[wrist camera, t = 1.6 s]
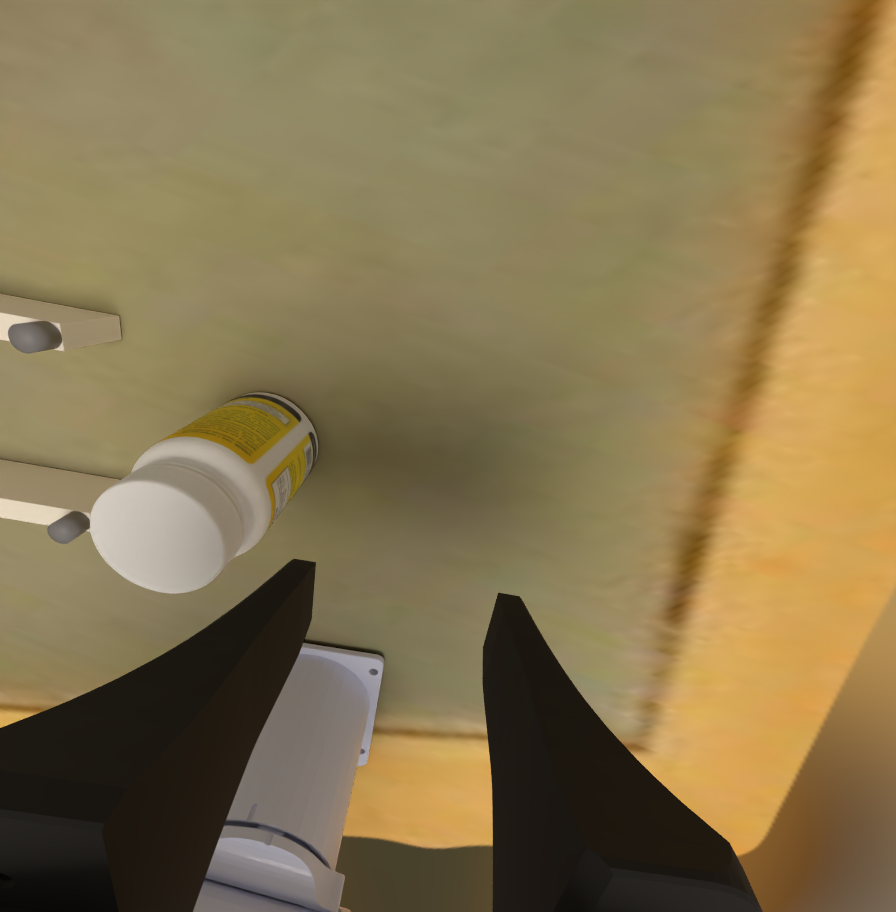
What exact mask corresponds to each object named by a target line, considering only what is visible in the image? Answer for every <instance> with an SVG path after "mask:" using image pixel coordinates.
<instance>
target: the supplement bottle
mask: <svg viewBox="0 0 896 912" xmlns="http://www.w3.org/2000/svg"><path fill="white" fill-rule="evenodd" d="M317 455H318V440H317V436H316V433H315V430H314V428H313V426H312V424H311V422H310V421H309V419H308V418H307V417H306V415H305V414H304V413H303V412H302V411H301V410H300V409H299V408H298V407H297V406H296V405H294V404H293V403H292V402H290V401H288V400H287V399H285V398H283V397H280V396H278V395H274V394H270V393H262V392H256V393H249V394H245V395H241V396H239V397H237V398H235V399H232V400H230V401H229V402H227V403H225V404H224V405H222V406H220V407H219V408H217V409H215V410H213V411H212V412H210V413H208V414H206V415H205V416H203V417H201V418H199V419H198V420H196V421H194V422H193V423H191V424H189V425H187V426H186V427H184V428H182V429H180V430H179V431H177V432H175V433H174V434H172V435H170V436H168V437H166V438H165V439H163V440H161V441H159V442H158V443H156V444H154V445H153V446H151V447H150V448H149V449H148V450H147V451H146V452H145V453H143V454H142V455H141V456H140V458H139V459H138V460H137V462H136V463H135V465H134V467H133V469H132V472H131V473H130V474H129V475H127V476H126V477H124V478H123V479H121V480H120V481H118V482H117V483H115V484H114V485H112V486H111V487H110V488H108V489H107V490H106V491H105V492H103V493H102V494H101V495H100V497H99V498H98V499H97V500H96V502H95V504H94V506H93V508H92V512H91V515H90V532H91V536H92V539H93V541H94V544H95V546H96V548H97V550H98V551H99V553H100V554H101V556H102V557H103V558H104V560H105V561H106V562H107V563H108V564H109V565H110V566H111V567H112V568H113V569H114V570H115V571H116V572H117V573H119V574H120V575H121V576H123V577H124V578H126V579H127V580H129V581H131V582H132V583H134V584H137V585H139V586H141V587H144V588H146V589H150V590H153V591H157V592H163V593H185V592H191V591H194V590H197V589H200V588H202V587H204V586H206V585H207V584H209V583H210V582H211V581H213V580H214V579H215V578H216V577H217V576H218V575H219V574H220V572H221V571H222V570H223V569H224V568H225V566H226V565H227V564H228V563H229V562H230V561H231V560H232V559H233V558H234V557H237V556H239V555H241V554H243V553H245V552H247V551H248V550H250V549H251V548H252V547H253V546H255V545H256V544H257V543H258V542H259V541H260V539H261V538H262V537H263V536H264V535H265V533H266V532H267V531H268V529H269V528H270V526H271V525H272V524H273V522H274V521H275V520H276V518H277V517H278V515H279V514H280V513H281V511H282V510H283V509H284V507H285V506H286V505H287V503H288V502H289V501H290V499H291V498H292V497H293V495H294V494H295V492H296V491H297V490H298V488H299V487H300V486H301V484H302V483H303V482H304V480H305V479H306V477H307V476H308V475H309V473H310V472H311V470H312V469H313V467H314V465H315V462H316V459H317Z"/></svg>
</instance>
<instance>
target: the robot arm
mask: <svg viewBox="0 0 896 912" xmlns="http://www.w3.org/2000/svg"><path fill="white" fill-rule="evenodd" d="M315 567H316V562H310V561H304V560H298V559H293V560H291V561H290V562H289V563H287V564H286V565H285V566H284V567H283V568H282V569H281V570H279V571H278V572H277V573H276V574H275V575H274V576H272V577H271V578H270V579H269V580H268V581H266V582H265V583H264V584H263V585H262V586H260V587H259V588H258V589H257V590H256V591H254V592H253V593H252V594H250V595H249V596H248V597H247V598H245V599H244V600H243V601H242V602H240V603H239V604H238V605H236V606H235V607H234V608H232V609H231V610H230V611H228V612H227V613H226V614H224V615H223V616H221V617H220V618H219V619H217V620H216V621H214V622H213V623H211V624H210V625H209V626H207V627H206V628H204V629H203V630H201V631H200V632H198V633H197V634H195V635H194V636H192V637H191V638H189V639H188V640H186V641H184V642H183V643H181V644H179V645H178V646H176V647H175V648H173V649H171V650H170V651H168V652H166V653H165V654H163V655H161V656H159V657H157V658H156V659H154V660H152V661H150V662H148V663H146V664H144V665H142V666H141V667H139V668H137V669H135V670H133V671H131V672H129V673H127V674H125V675H124V676H122V677H120V678H118V679H116V680H114V681H112V682H109V683H107V684H105V685H103V686H101V687H99V688H97V689H95V690H92V691H90V692H88V693H86V694H83V695H81V696H79V697H77V698H74V699H72V700H70V701H68V702H65V703H63V704H60V705H58V706H56V707H53V708H51V709H49V710H46V711H43V712H41V713H38V714H36V715H33V716H30V717H28V718H25V719H23V720H20V721H18V722H15V723H12V724H10V725H7V726H5V727H2V728H0V912H351V911H350V910H349V909H346V908H342V907H339V905H340V899H341V894H342V889H343V885H344V879H345V876H344V875H343V874H340V873H338V872H335V867H336V863H337V858H338V854H339V849H340V844H341V839H342V835H343V830H344V826H345V821H346V816H347V812H348V807H349V802H350V797H351V793H352V788H353V783H354V779H355V774H356V769H357V766H363V765H365V764H367V761H368V756H369V750H370V744H371V738H372V732H373V726H374V720H375V714H376V708H377V702H378V697H379V691H380V685H381V679H382V673H383V667H384V659H383V657H381V656H380V655H377V654H371V653H364V652H358V651H352V650H346V649H339V648H333V647H327V646H320V645H314V644H308V643H303V642H304V639H305V637H306V634H307V631H308V628H309V625H310V622H311V619H312V606H313V593H314V580H315ZM374 669H376V670H374ZM483 693H484V703H485V714H486V724H487V733H488V743H489V753H490V763H491V775H492V800H493V912H762V909H761V907H760V905H759V903H758V901H757V898H756V896H755V894H754V892H753V890H752V887H751V885H750V883H749V881H748V879H747V876H746V874H745V872H744V870H743V867H742V866H741V864H740V862H739V860H738V858H737V856H736V854H735V852H734V850H733V848H732V847H731V845H730V843H729V842H728V841H727V840H726V839H724V838H723V837H722V836H721V835H720V834H719V833H717V832H716V831H715V830H714V829H713V828H711V827H710V826H709V825H708V824H707V823H706V822H704V821H703V820H702V819H701V818H700V817H698V816H697V815H696V814H695V813H694V812H693V811H691V810H690V809H689V808H688V807H687V806H685V805H684V804H683V803H682V802H681V801H680V800H679V799H678V798H677V797H675V796H674V795H673V794H672V793H671V792H670V791H669V790H668V789H667V788H666V787H665V786H664V785H663V784H662V783H661V782H659V781H658V780H657V779H656V778H655V777H654V776H653V775H652V774H651V773H650V772H649V771H648V770H647V769H646V768H645V767H644V766H643V765H642V764H641V763H640V762H639V761H638V760H637V759H636V758H635V757H634V756H633V755H632V754H631V753H630V751H629V750H628V749H627V748H626V747H625V746H624V745H623V744H622V743H621V742H620V741H619V740H618V739H617V738H616V736H615V735H614V734H613V733H612V732H611V731H610V730H609V729H608V727H607V726H606V725H605V724H604V723H603V722H602V720H601V719H600V718H599V717H598V715H597V714H596V713H595V712H594V710H593V709H592V708H591V707H590V706H589V704H588V703H587V702H586V701H585V699H584V698H583V697H582V695H581V694H580V693H579V691H578V690H577V688H576V687H575V686H574V684H573V683H572V681H571V680H570V679H569V677H568V676H567V674H566V673H565V671H564V670H563V668H562V667H561V665H560V664H559V662H558V661H557V659H556V657H555V656H554V654H553V653H552V651H551V649H550V648H549V646H548V645H547V643H546V641H545V640H544V638H543V636H542V635H541V633H540V631H539V629H538V628H537V626H536V624H535V622H534V621H533V619H532V617H531V615H530V614H529V612H528V610H527V608H526V606H525V604H524V603H523V601H522V599H521V598H520V596H514V595H508V594H502V593H498V596H497V599H496V603H495V607H494V610H493V614H492V617H491V621H490V624H489V628H488V632H487V635H486V639H485V642H484V646H483Z"/></svg>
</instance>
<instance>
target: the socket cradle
mask: <svg viewBox="0 0 896 912" xmlns="http://www.w3.org/2000/svg"><path fill="white" fill-rule="evenodd" d="M0 340H6V341H10V342H11V343H12V345H13V346H14V347H15V348H16V349H17V350H19V351H21V352H23V353H34V352H40V351H45V350H50V349H55V350H61V351H67V350H72V349H77V348H82V347H87V346H92V345H97V344H102V343H107V342H112V341H117V340H122V338H121V328H120V319H119V316H117V315H112V314H107V313H101V312H96V311H90V310H85V309H80V308H74V307H69V306H63V305H58V304H53V303H47V302H42V301H36V300H31V299H26V298H20V297H15V296H10V295H4V294H0ZM118 481H120V480H119V479H113V478H108V477H102V476H96V475H90V474H84V473H78V472H72V471H67V470H61V469H55V468H49V467H43V466H37V465H31V464H26V463H20V462H14V461H8V460H2V459H0V517H1V518H8V519H14V520H20V521H26V522H32V523H38V524H44V525H49V526H48V529H47V531H48V534H49V536H50V537H51V538H52V539H53V540H54V541H56V542H58V543H62V544H66V543H69V542H71V541H72V540H74V539H75V538H76V537H78V536H79V535H81V534H82V533H84V532H85V531H86V532H90V515H91V512H92V508H93V506H94V504H95V502H96V500H97V499H98V498H99V497H100V495H101V494H102V493H103V492H105V491H106V490H107V489H108V488H110V487H111V486H112V485H114V484H115V483H117V482H118Z"/></svg>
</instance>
